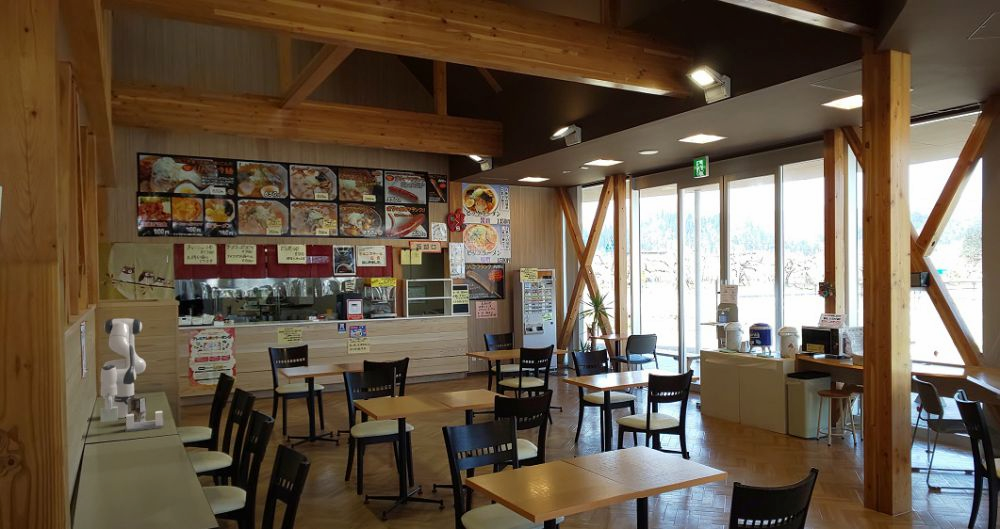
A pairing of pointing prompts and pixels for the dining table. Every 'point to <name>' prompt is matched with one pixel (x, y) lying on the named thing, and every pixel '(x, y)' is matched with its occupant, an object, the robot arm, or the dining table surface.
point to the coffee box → (137, 408)
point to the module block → (112, 417)
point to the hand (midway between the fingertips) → (109, 414)
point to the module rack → (144, 425)
